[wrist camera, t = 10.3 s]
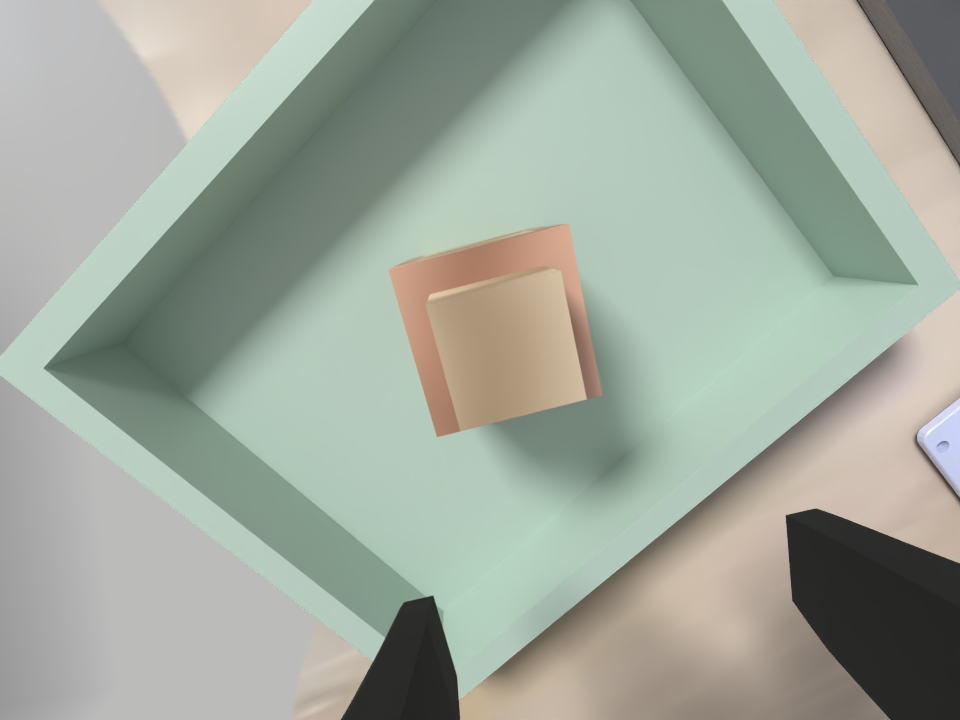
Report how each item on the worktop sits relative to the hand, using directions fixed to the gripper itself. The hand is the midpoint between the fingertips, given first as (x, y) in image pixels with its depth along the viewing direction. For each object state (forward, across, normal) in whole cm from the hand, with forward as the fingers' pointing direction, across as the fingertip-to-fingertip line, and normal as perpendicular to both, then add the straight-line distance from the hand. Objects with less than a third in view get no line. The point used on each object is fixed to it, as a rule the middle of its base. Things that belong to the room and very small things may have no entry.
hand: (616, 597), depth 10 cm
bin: (+10, +1, -5) cm, 11 cm away
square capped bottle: (+9, +1, -5) cm, 11 cm away
